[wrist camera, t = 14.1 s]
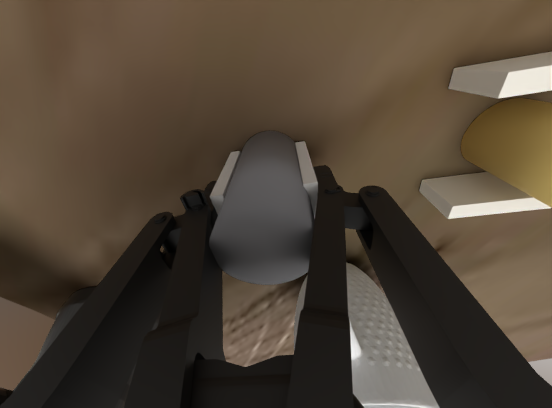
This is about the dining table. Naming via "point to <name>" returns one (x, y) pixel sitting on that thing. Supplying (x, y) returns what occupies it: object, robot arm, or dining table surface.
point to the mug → (378, 349)
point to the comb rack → (484, 186)
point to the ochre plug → (514, 145)
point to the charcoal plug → (265, 215)
